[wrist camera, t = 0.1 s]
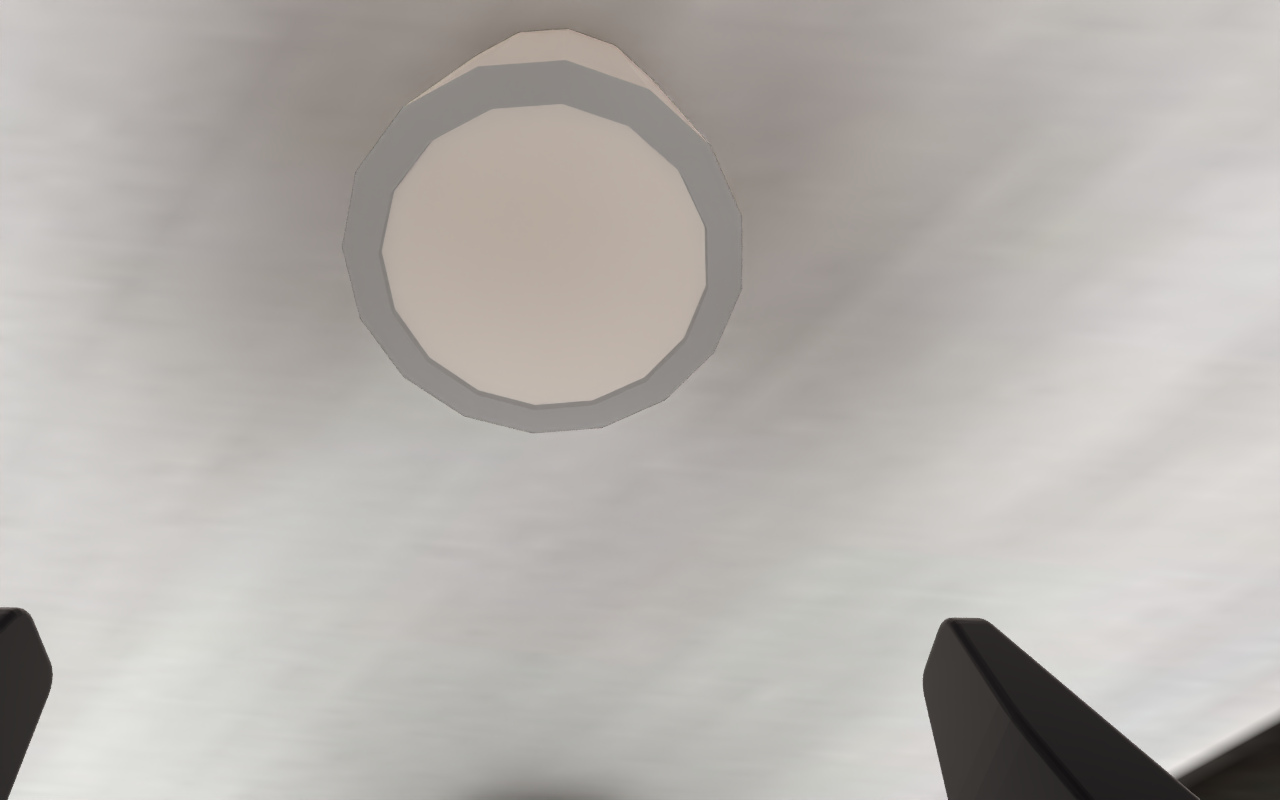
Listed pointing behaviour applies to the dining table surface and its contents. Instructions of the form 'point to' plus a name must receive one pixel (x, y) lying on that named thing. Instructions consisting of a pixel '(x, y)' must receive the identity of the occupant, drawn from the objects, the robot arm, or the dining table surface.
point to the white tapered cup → (544, 238)
